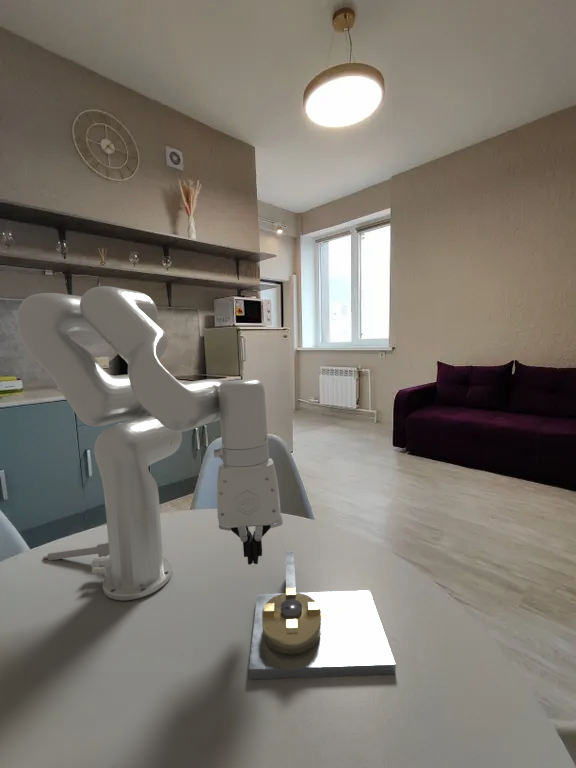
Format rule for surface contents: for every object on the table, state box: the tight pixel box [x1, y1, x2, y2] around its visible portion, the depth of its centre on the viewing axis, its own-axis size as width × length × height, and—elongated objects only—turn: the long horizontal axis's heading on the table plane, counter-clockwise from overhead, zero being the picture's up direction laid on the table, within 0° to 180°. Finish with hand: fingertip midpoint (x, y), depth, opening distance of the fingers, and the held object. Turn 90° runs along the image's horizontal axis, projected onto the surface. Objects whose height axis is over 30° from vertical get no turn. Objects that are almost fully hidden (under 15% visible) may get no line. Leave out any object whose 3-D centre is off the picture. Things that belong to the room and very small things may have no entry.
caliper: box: [42, 541, 110, 561], centre depth 78 cm, size 20×1×6 cm, turn 81°
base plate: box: [248, 590, 397, 680], centre depth 57 cm, size 20×15×2 cm
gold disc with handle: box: [262, 550, 321, 654], centre depth 61 cm, size 9×20×4 cm, turn 1°
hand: (253, 559), depth 61 cm, fingers closed
